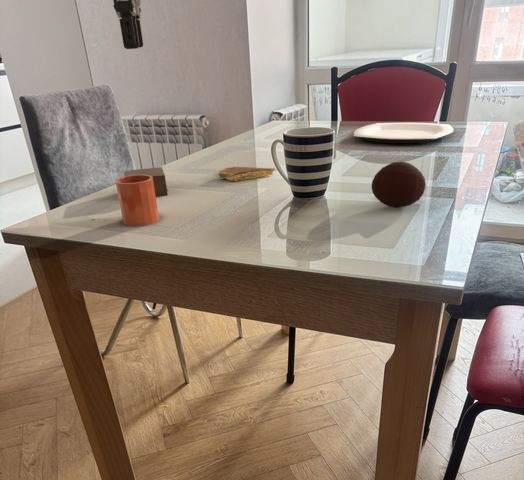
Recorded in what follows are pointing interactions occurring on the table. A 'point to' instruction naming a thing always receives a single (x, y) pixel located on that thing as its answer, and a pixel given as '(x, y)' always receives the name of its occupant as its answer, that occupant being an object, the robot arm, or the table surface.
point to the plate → (403, 132)
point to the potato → (398, 184)
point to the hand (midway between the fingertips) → (134, 48)
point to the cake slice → (244, 173)
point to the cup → (137, 200)
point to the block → (157, 178)
